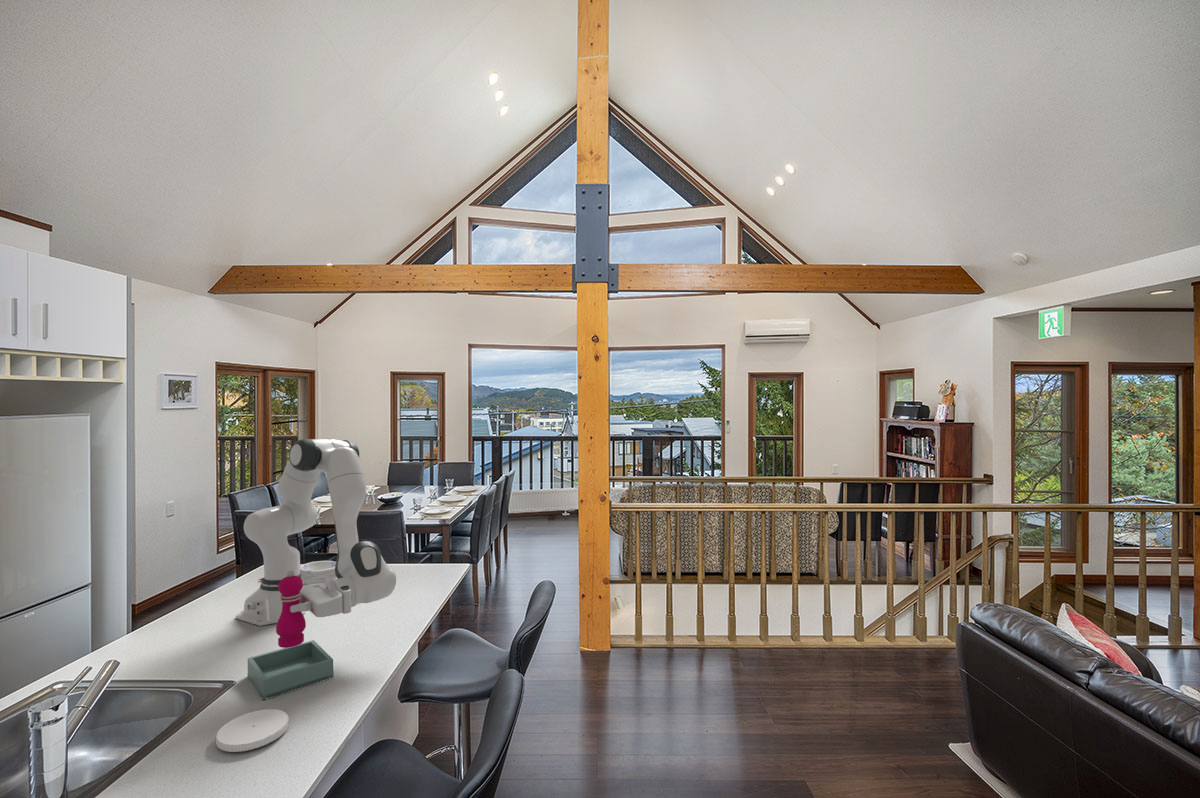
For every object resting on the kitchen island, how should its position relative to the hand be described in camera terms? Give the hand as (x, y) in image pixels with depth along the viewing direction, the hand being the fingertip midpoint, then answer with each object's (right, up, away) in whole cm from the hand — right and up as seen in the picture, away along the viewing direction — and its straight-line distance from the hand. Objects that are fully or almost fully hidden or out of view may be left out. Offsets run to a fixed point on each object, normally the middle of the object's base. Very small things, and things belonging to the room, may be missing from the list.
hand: (287, 606), depth 155 cm
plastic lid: (+7, -20, -26) cm, 34 cm away
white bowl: (-30, -20, +78) cm, 85 cm away
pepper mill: (+1, -11, +1) cm, 11 cm away
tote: (+1, -20, +1) cm, 20 cm away
